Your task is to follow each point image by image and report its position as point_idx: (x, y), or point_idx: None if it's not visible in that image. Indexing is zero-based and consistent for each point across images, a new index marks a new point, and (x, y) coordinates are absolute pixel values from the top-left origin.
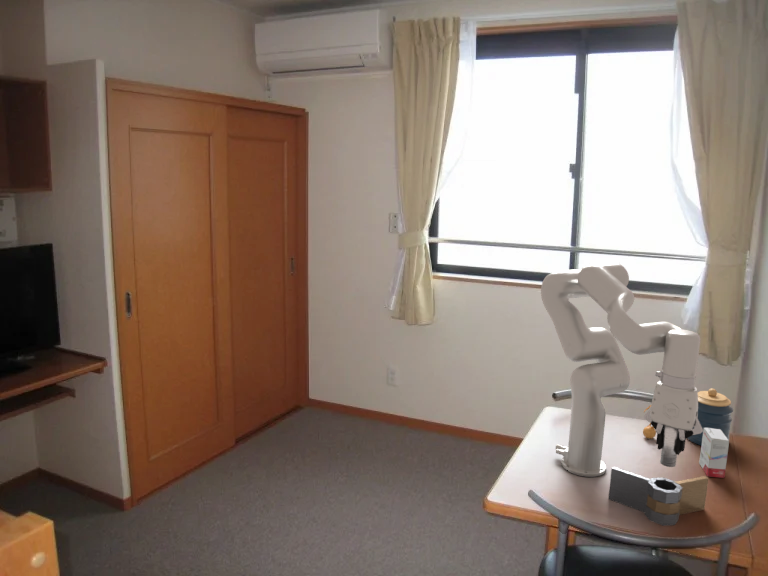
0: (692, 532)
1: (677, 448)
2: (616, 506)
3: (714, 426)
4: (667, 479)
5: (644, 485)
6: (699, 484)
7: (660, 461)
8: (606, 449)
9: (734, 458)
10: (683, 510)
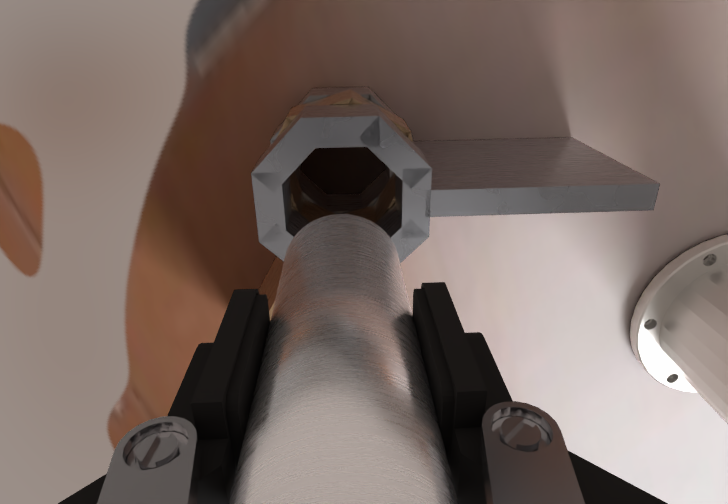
0: (201, 126)
1: (235, 325)
2: (525, 100)
3: None
4: None
5: (448, 177)
6: None
7: (392, 244)
8: (655, 475)
9: None
10: None
